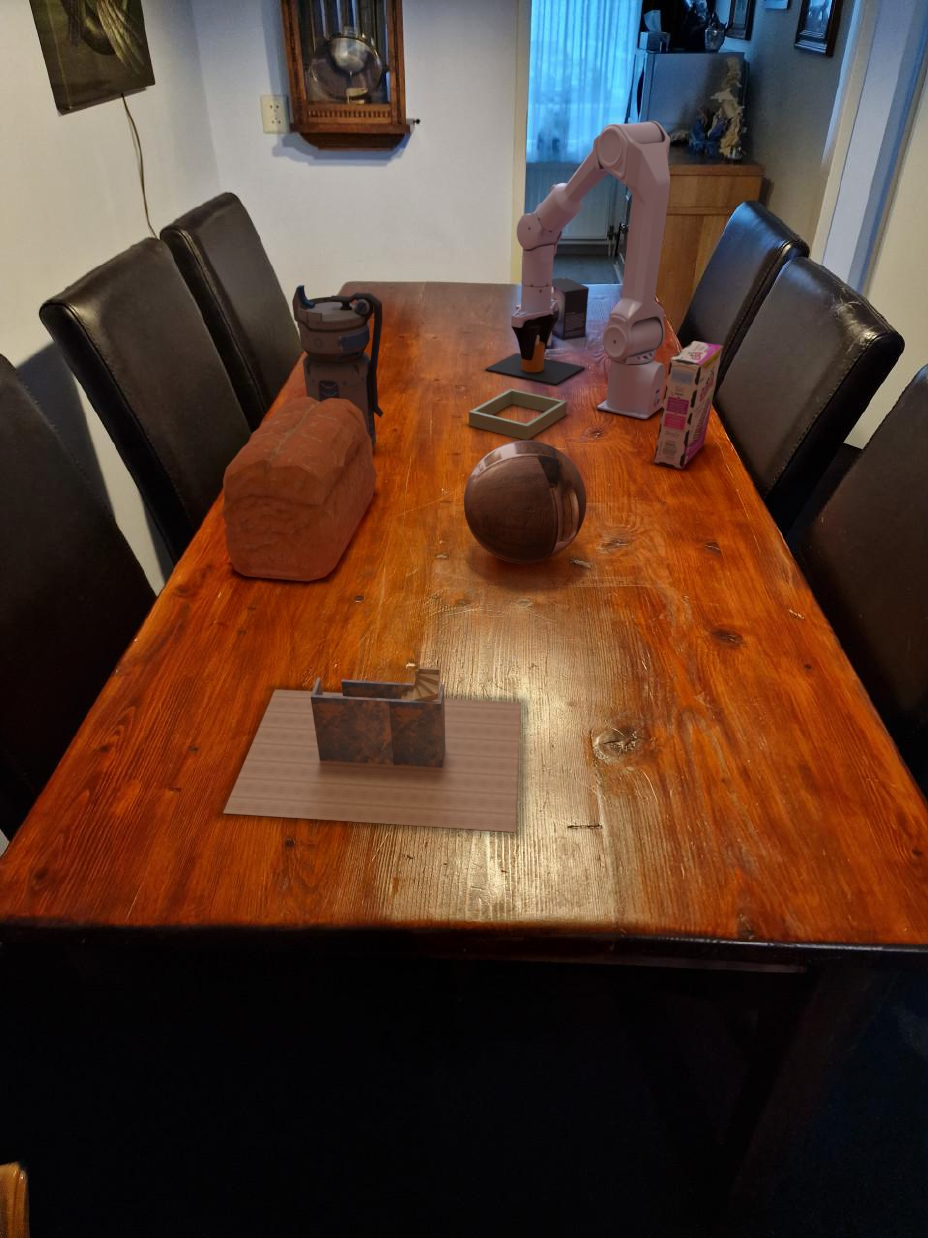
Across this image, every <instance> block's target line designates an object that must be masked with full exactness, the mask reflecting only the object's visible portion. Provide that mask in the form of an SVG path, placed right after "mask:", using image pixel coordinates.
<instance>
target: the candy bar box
mask: <svg viewBox="0 0 928 1238" xmlns="http://www.w3.org/2000/svg"><path fill="white" fill-rule="evenodd" d="M723 348H724V345H720V344H717V343H711V342H703V341H696V340H693V341H692V342H691V343H689V344H688V345H687V346H686V347H683V349H682V350H680V351H679V352H678V353H676V354H675V355H674V356H672V357H671V358H670V359H669V366H668V372H667V377H666V382H665V383H666V384H665V389H664V395H663V401H662V404H663V406H662V407H661V408H662V409H661V415H660V421H659V428H658V434H657V439H656V440H657V441H656V447H655V452H654V460H653V463H654V464H656V465H657V464H658V465H661V466H665V467H669V468H674V469H677V470H683V469H684V468H685V467H686V466H687V464H688V463H689V462H690V461H691V459H693V458H694V456H695V455H696V454H697V453H698V452H699V450H701V449H702V448H703V447H704V446H705V441H706V436H707V430H708V425H709V419H710V415H711V409H712V405H713V399H714V394H715V389H716V385H717V379H718V374H719V369H720V364H721V363H720V362H721V359H722V354H723Z"/></svg>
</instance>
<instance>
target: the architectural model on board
mask: <svg viewBox="0 0 928 1238" xmlns="http://www.w3.org/2000/svg"><path fill="white" fill-rule="evenodd" d="M417 664H418V665H417V670H416V669H415V670H414V682H399V681H398V682H397V681H380V680H379V681H374V680H359V679H344V678H342V679H341V682H340V683H341V691H342V692H331V691H323V685H322V678H321V677H317V678H316V680H315V683H314V685H313V687H312V688H313V689H312V690H293V689H276V688H275V689H274V691H273V692H272V696H271V698H270V701H269V703H268V705H267V707H266V710H265V713H264V714H263V718H262V719H261V721H260V723H259V727H258V728H257V731H256V733H255V736H254V738H253V741H252V743H251V746H250V748H249V750H248V753H247V755H246V758H245V760H244V763H243V764H242V767H241V770H240V771H239V774H238V777H237V778H236V781H235V783H234V786H233V789H232V791H231V793H230V796H229V798H228V800H227V803H226V805H225V807H224V810H223V812H222V813H223V814H229V815H247V816H262V817H276V818H278V817H279V818H291V819H292V818H293V819H307V820H309V819H310V820H325V821H337V822H338V821H339V822H355V823H368V824H369V823H370V824H383V825H385V824H387V825H400V826H401V825H403V826H417V827H429V828H430V827H433V828H446V829H463V830H464V829H465V830H476V831H477V830H478V831H479V830H480V831H492V832H493V831H494V832H508V833H509V832H510V833H516V830H517V829H516V827H517V826H516V825H517V807H518V805H517V803H518V782H519V781H518V779H519V778H518V776H519V755H520V730H521V726H520V725H521V710H522V709H521V707H522V703H521V702H517V701H502V700H501V701H500V700H480V699H477V700H476V699H465V698H463V699H461V698H445V684H444V683H441V672H442V671H441V667H442V663H441V662H440V663H439V667H438V666H437V667H436V666H435V667H433V666H421V665H420V662H418V663H417Z"/></svg>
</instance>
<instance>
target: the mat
mask: <svg viewBox="0 0 928 1238" xmlns="http://www.w3.org/2000/svg"><path fill="white" fill-rule="evenodd" d="M521 365H522V357H521V353H518V352H516V353H514V354H512V355H510V356H507V357H505V358H504V359H502V360H500V361H498V362H496V363H494V364H492V365H490V366H488V367H486V368H485V371H486V372H491V373H497V374H499V375H504V376H509V377H513V378H518V379H522V380H526V381H527V380H528V381H532V382H537V383H542V384H545V385H550V386H551V385H552V386H558V385H560V384H561V383H563V382H564V381H566V380H568V379H569V378H571V377H573V376H575V375H576V374H578V373H580V372H582V371H583V370H585V369H586V366H583V365H577V364H574V363H568V362H562V361H558V360H553V359H548V358H544V368H543V370H542V371H540V372H525V371H523V370H522V369H521Z"/></svg>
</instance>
